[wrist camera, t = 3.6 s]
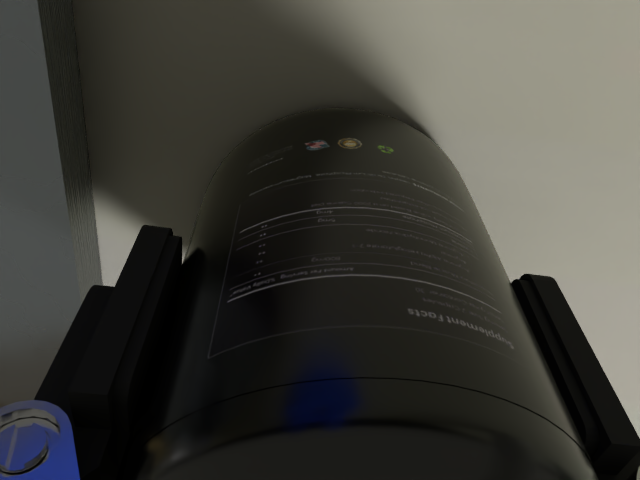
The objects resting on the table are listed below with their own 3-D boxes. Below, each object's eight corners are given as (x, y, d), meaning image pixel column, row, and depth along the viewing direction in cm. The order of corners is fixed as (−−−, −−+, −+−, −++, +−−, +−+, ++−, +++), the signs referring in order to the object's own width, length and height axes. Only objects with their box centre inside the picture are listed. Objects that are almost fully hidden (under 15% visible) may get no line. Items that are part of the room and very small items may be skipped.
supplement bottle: (443, 316, 16) (625, 1021, 7) (215, 311, 16) (62, 1025, 6) (497, 98, 12) (1211, 1158, 2) (190, 88, 12) (-361, 1182, 2)
